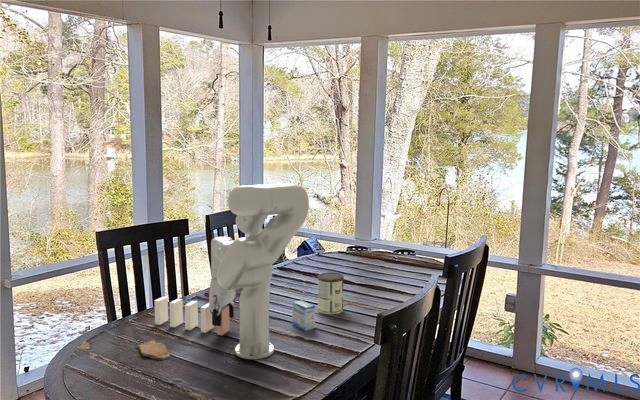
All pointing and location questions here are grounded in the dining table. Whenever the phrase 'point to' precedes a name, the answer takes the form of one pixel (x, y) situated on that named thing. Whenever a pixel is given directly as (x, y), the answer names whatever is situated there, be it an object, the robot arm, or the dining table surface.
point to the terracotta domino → (223, 321)
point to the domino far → (161, 310)
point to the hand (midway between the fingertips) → (223, 320)
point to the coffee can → (330, 293)
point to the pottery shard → (154, 350)
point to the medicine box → (303, 315)
